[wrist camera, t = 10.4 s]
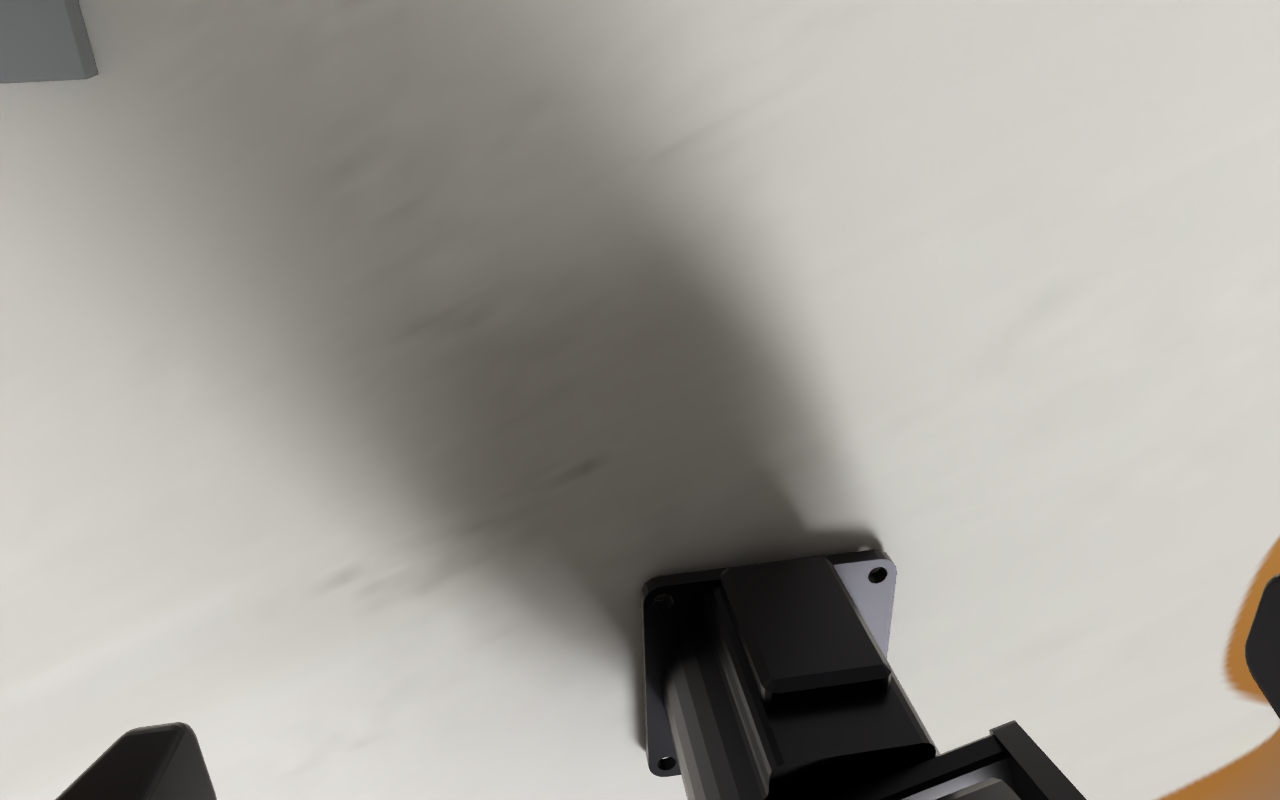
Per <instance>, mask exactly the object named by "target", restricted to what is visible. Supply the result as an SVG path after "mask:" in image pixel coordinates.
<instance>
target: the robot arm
mask: <svg viewBox="0 0 1280 800" xmlns="http://www.w3.org/2000/svg"><path fill="white" fill-rule="evenodd" d="M877 567H880V569H879V570H878V571H877V572H875V573H873V574H869V573H870V572H871V571H872V570H873V569H874V568H877ZM896 574H897V572H896V566H895V565H894V563H893V562H892V560H891V559H890V557H889V556H888V555H887V553H885V552H883V551H881V550H868V551H860V552H852V553H844V554H836V555H828V556H819V557H811V558H802V559H794V560H786V561H778V562H770V563H762V564H754V565H746V566H738V567H731V568H722V569H714V570H706V571H698V572H690V573H682V574H674V575H666V576H659V577H655V578H652V579H651V580H649V581H648V582H646V583H645V585H644V586H643V588H642V590H641V623H642V651H643V679H644V707H645V736H646V756H647V761H648V766H649V769H650V771H651V772H652V773H653V774H654V775H656V776H660V777H668V776H675V775H682V779H683V783H684V787H685V791H686V795H687V799H688V800H1086V799H1085V797H1084V796H1083V795H1082V794H1081V793H1080V792H1079V791H1078V790H1077V789H1076V788H1075V786H1074V785H1073V784H1072V783H1071V782H1070V781H1069V780H1068V779H1067V778H1066V776H1065V775H1064V774H1063V773H1062V772H1061V771H1060V770H1059V769H1058V768H1057V767H1056V765H1055V764H1054V763H1053V762H1052V761H1051V760H1050V759H1049V758H1048V757H1047V755H1046V754H1045V753H1044V752H1043V751H1042V750H1041V749H1040V748H1039V747H1038V746H1037V744H1036V743H1035V742H1034V741H1033V740H1032V739H1031V738H1030V737H1029V736H1028V734H1027V733H1026V732H1025V731H1024V730H1023V729H1022V728H1021V727H1020V726H1019V725H1018V723H1017V722H1016V721H1011V722H1008V723H1006V724H1003V725H1001V726H998V727H996V728H993V729H991V730H989V731H990V735H989V736H986V737H983V738H981V739H978V740H976V741H973V742H971V743H968V744H966V745H963V746H961V747H958V748H955V749H953V750H950V751H948V752H945V753H943V754H940V753H939V751H938V749H937V748H936V746H935V744H934V742H933V741H932V739H931V737H930V735H929V734H928V732H927V730H926V728H925V727H924V725H923V723H922V721H921V719H920V718H919V716H918V714H917V712H916V711H915V709H914V707H913V705H912V704H911V702H910V700H909V698H908V697H907V695H906V693H905V691H904V690H903V688H902V686H901V684H900V682H899V681H898V679H897V677H896V675H895V674H894V672H893V670H892V668H891V666H890V665H889V663H888V661H887V651H888V642H889V634H890V625H891V617H892V608H893V600H894V591H895V583H896ZM662 594H667V595H669V596H668V597H667V598H666V599H664V600H661V601H658V600H654V599H655V598H656V597H657V596H659V595H662ZM1245 659H1246V664H1247V666H1248V669H1249V671H1250V673H1251V675H1252V677H1253V678H1254V680H1255V681H1256V683H1257V684H1258V686H1259V688H1260V689H1261V691H1262V692H1263V694H1264V695H1265V697H1266V699H1267V700H1268V702H1269V703H1270V705H1271V706H1272V708H1273V709H1274V711H1275V712H1276V714H1277V715H1278V717H1279V719H1280V574H1278V575H1275V576H1273V577H1272V578H1271V579H1270V580H1269V581H1268V582H1267V584H1266V586H1265V588H1264V590H1263V593H1262V596H1261V599H1260V602H1259V605H1258V608H1257V611H1256V614H1255V617H1254V620H1253V622H1252V626H1251V628H1250V631H1249V634H1248V637H1247V640H1246V644H1245ZM664 757H668V758H666V759H662V758H664ZM55 800H217V798H216V794H215V791H214V788H213V785H212V782H211V779H210V776H209V773H208V770H207V767H206V764H205V761H204V758H203V755H202V752H201V749H200V746H199V743H198V740H197V737H196V735H195V733H194V731H193V730H192V728H191V727H190V726H189V725H187V724H185V723H181V722H176V723H169V724H161V725H154V726H147V727H139V728H135V729H132V730H130V731H128V732H126V733H125V734H124V735H122V736H121V737H120V738H119V739H118V740H117V741H116V742H115V743H114V744H112V745H111V746H110V747H109V748H108V749H107V750H106V751H105V752H104V753H103V754H102V755H101V756H100V757H99V758H98V759H97V760H96V761H95V762H94V763H93V764H92V765H91V766H90V767H89V768H88V769H87V770H86V771H84V772H83V773H82V774H81V775H80V776H79V777H78V778H77V779H76V780H75V781H74V782H73V783H72V784H71V785H70V786H69V787H68V788H67V789H66V790H65V791H64V792H63V793H62V794H61V795H60V796H59V797H58V798H56V799H55Z"/></svg>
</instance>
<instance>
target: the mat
mask: <svg viewBox="0 0 1280 800" xmlns="http://www.w3.org/2000/svg"><path fill="white" fill-rule="evenodd" d="M95 75H98V71H97V68H96V64H95V60H94V57H93V53H92V50H91V46H90V42H89V39H88V35H87V32H86V28H85V24H84V21H83V17H82V13H81V10H80V6H79V3H78V0H0V83H19V82H39V81H59V80H79V79H88V78H90V77H93V76H95Z"/></svg>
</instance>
